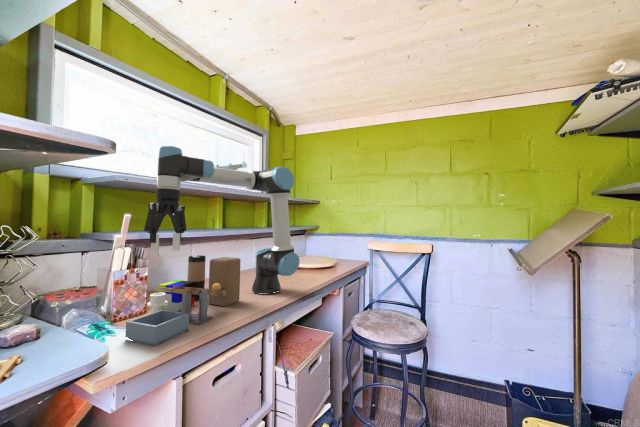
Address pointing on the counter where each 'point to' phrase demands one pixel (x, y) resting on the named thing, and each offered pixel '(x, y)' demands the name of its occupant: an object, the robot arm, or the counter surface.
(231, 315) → the counter surface
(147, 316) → the tray
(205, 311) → the stand
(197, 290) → the lever
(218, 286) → the ball
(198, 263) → the travel mug
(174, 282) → the puzzle toy
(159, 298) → the pipe fitting
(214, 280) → the block
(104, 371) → the counter surface
